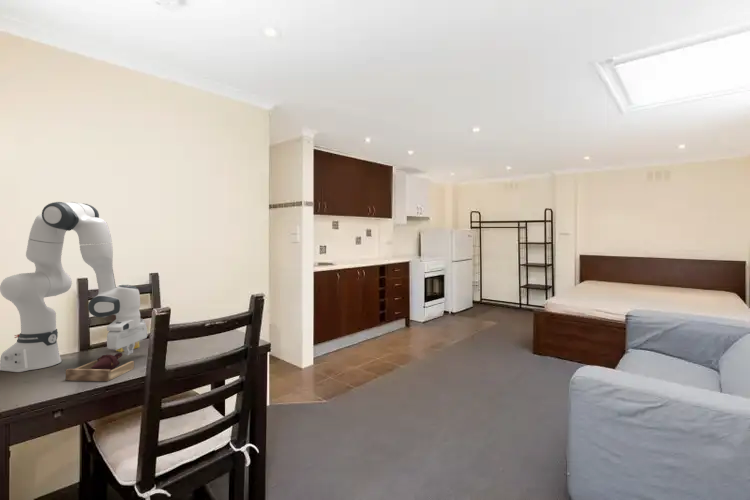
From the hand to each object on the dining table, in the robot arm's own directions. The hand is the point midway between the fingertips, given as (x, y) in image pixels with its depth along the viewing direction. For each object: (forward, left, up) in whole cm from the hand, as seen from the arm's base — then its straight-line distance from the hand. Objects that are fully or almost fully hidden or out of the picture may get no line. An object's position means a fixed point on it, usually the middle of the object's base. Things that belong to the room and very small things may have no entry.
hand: (128, 354), depth 164 cm
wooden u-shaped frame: (0, -15, -3) cm, 16 cm away
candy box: (-13, +18, -3) cm, 22 cm away
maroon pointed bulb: (0, -12, -3) cm, 13 cm away
